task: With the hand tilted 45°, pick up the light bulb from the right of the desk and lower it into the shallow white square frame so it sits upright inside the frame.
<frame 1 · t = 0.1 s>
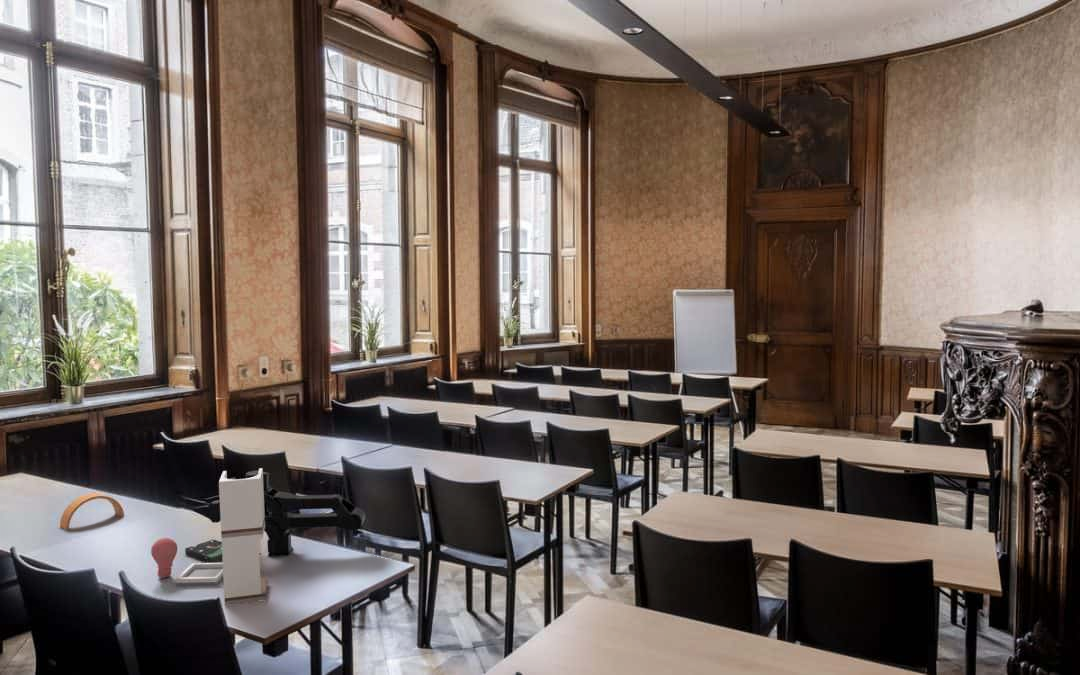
hand: (199, 505, 250), 17 cm above the table, tool horizontal, fingers open, 9 cm apart
arch: (92, 522, 286), on the table
light bulb: (165, 577, 233), on the table
white square frame: (204, 577, 233), on the table
disk drive: (212, 556, 252), on the table
tall white pillar: (246, 595, 220), on the table
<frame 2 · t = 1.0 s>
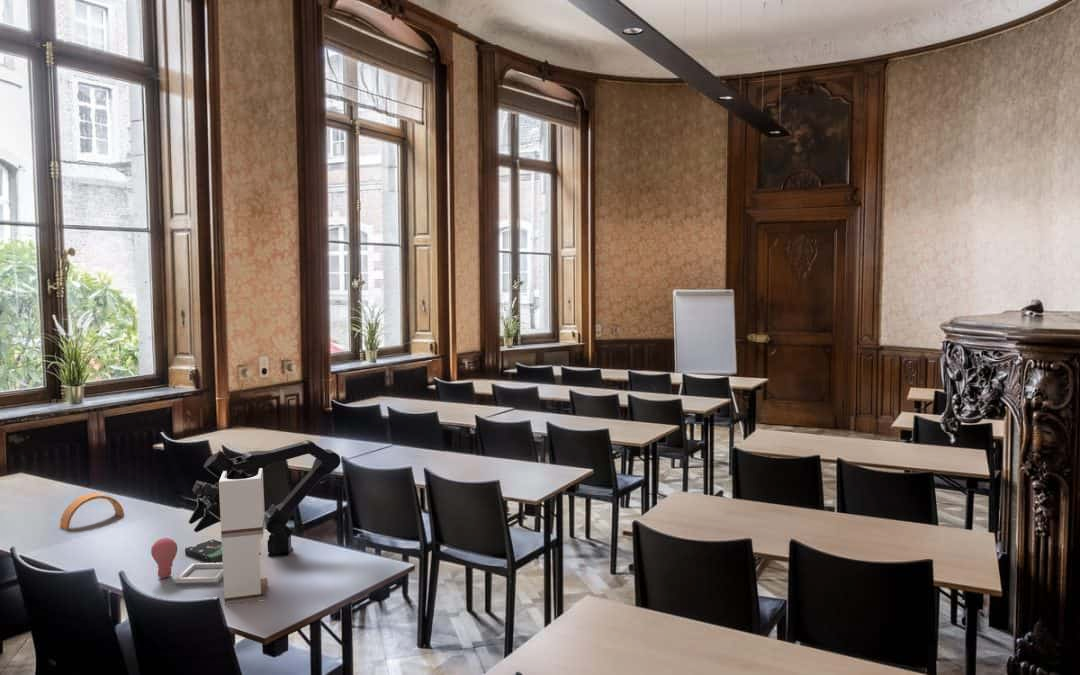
hand: (192, 527, 237), 14 cm above the table, tool tilted 45°, fingers open, 9 cm apart
nothing on the table moved.
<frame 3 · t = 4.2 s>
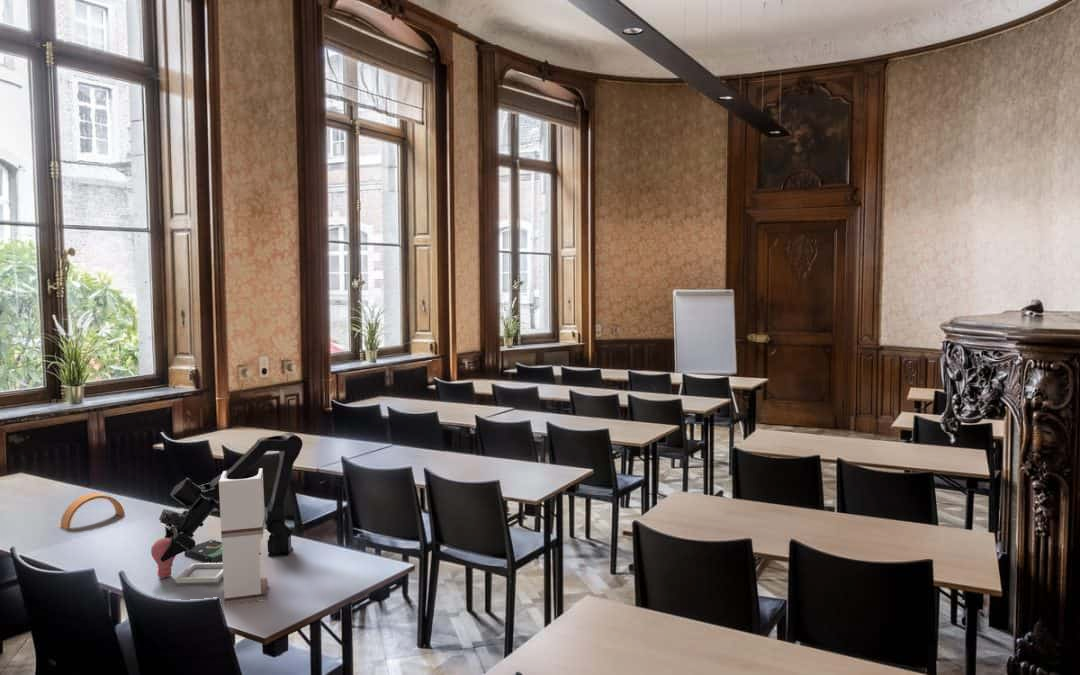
hand: (159, 557, 232), 7 cm above the table, tool tilted 45°, fingers closed on light bulb, 7 cm apart
light bulb: (165, 577, 233), on the table, touching gripper
everything else where it was.
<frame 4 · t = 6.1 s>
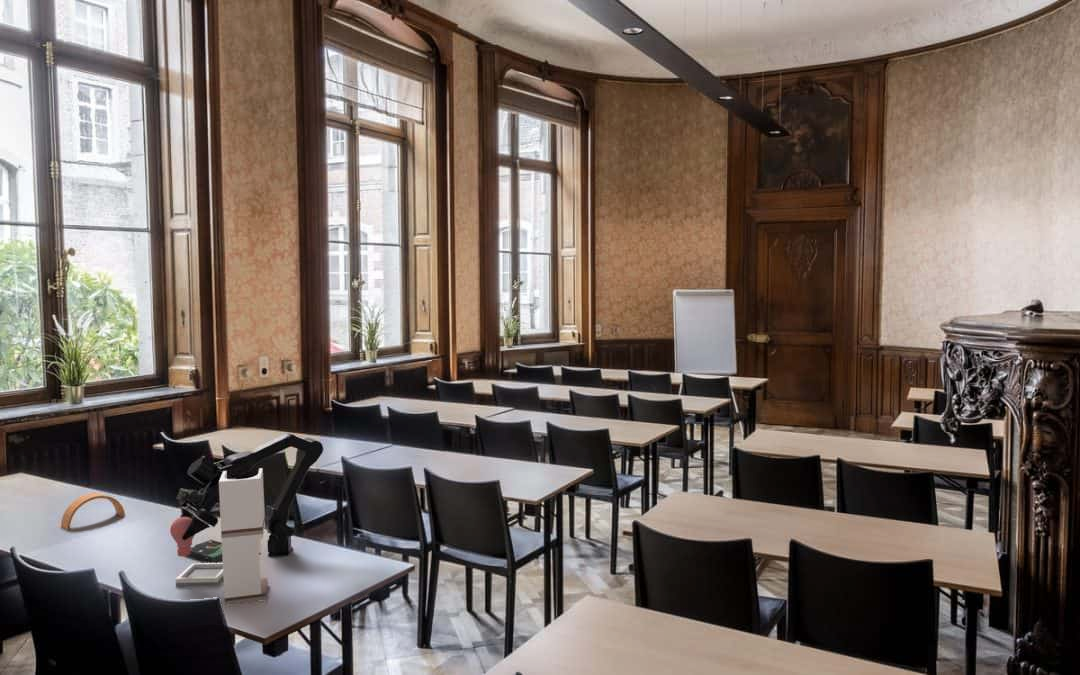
hand: (179, 536, 231), 13 cm above the table, tool tilted 45°, fingers closed on light bulb, 7 cm apart
light bulb: (185, 556, 232), point 6 cm above the table, touching gripper
everything else where it was.
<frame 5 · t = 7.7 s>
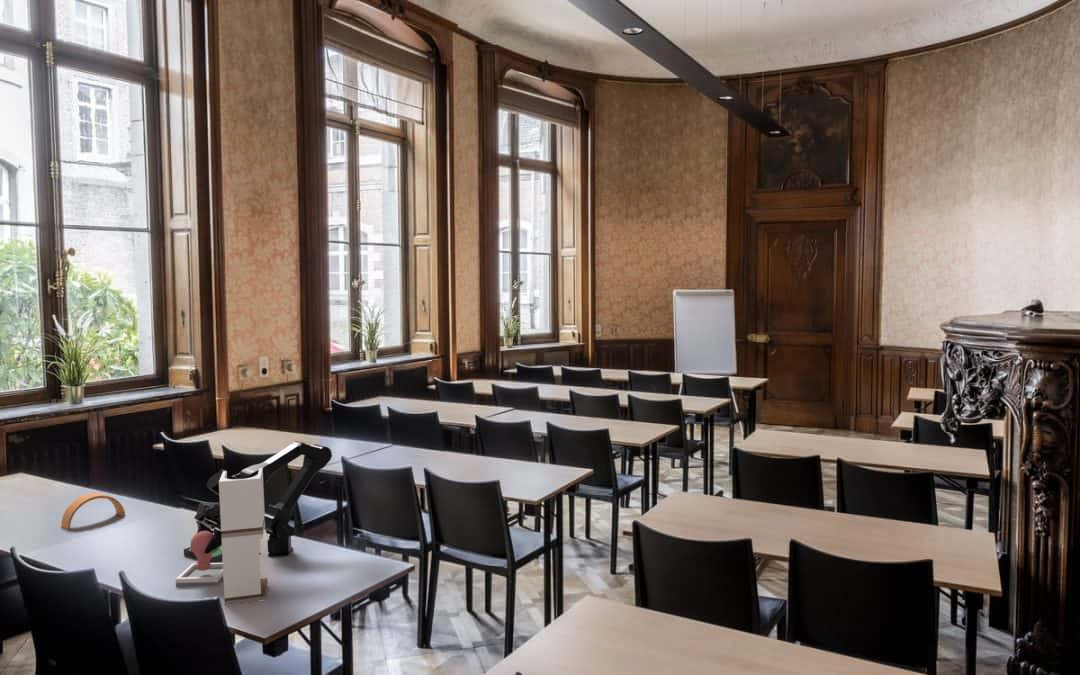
hand: (199, 550, 231), 9 cm above the table, tool tilted 45°, fingers closed on light bulb, 7 cm apart
light bulb: (205, 570, 233), point 2 cm above the table, touching gripper
everything else where it was.
when the fingers open (9 cm above the table, at t = 8.6 s): light bulb stays where it is, resting on white square frame.
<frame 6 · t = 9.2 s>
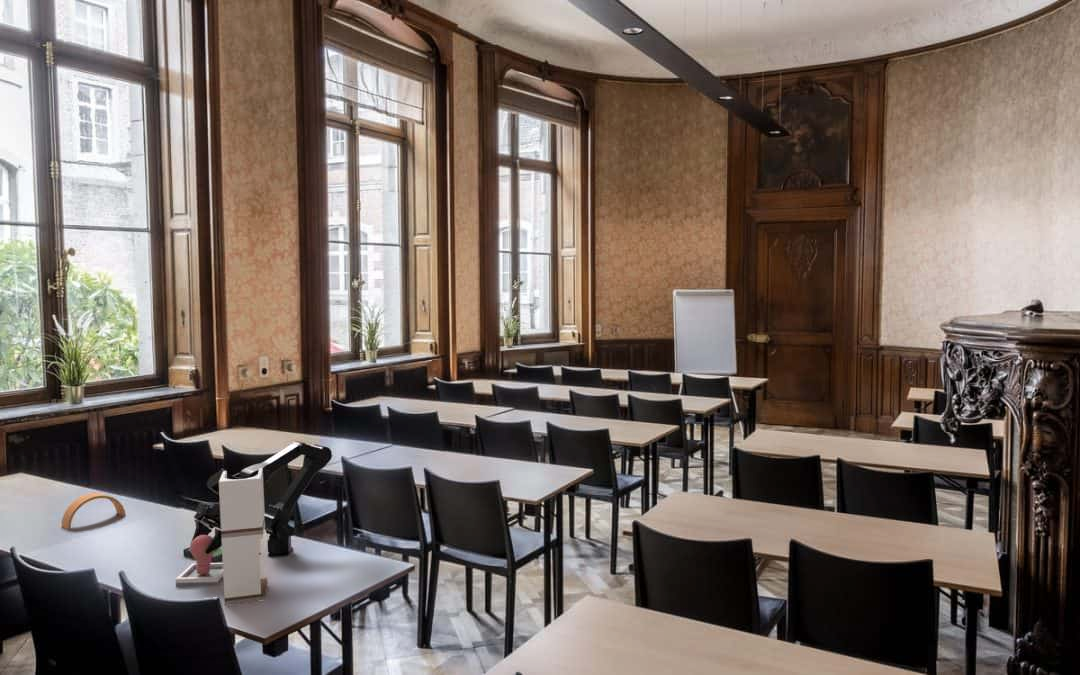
hand: (198, 549, 231), 9 cm above the table, tool tilted 45°, fingers open, 9 cm apart
light bulb: (204, 574, 233), point 1 cm above the table, touching white square frame
everything else where it was.
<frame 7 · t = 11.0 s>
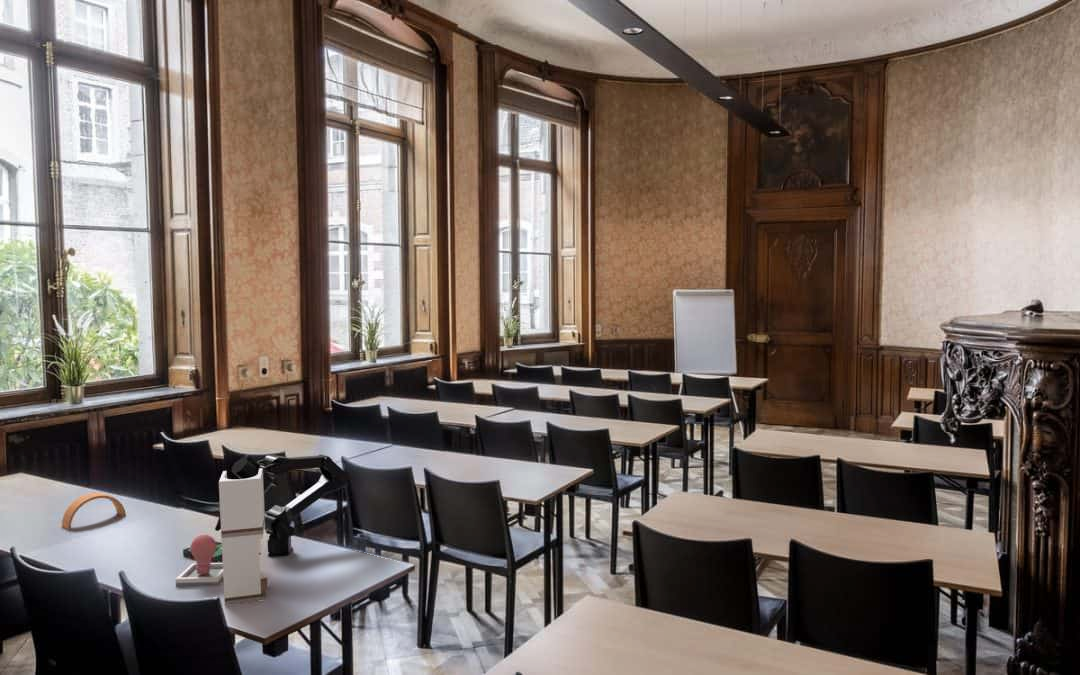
hand: (223, 533, 237), 12 cm above the table, tool tilted 45°, fingers open, 9 cm apart
nothing on the table moved.
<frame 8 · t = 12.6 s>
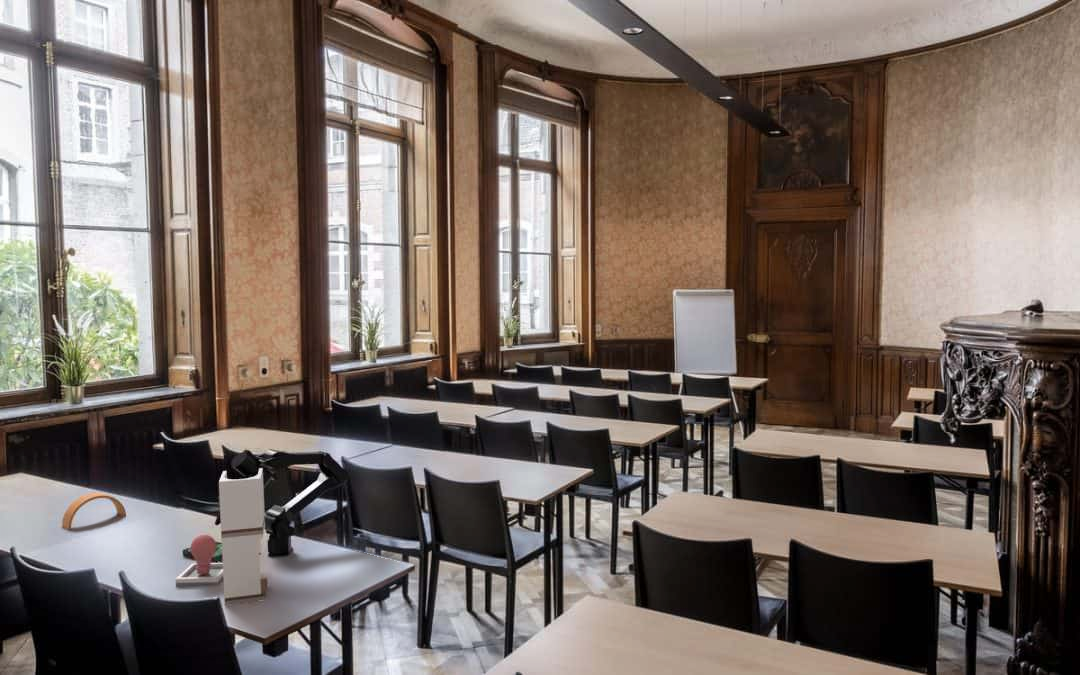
hand: (223, 527, 237), 14 cm above the table, tool tilted 45°, fingers open, 9 cm apart
nothing on the table moved.
at the end: light bulb 0.2 cm off-centre on the white square frame, point 0.8 cm above the white square frame's base; light bulb tilted 0°; the gripper is holding nothing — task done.
